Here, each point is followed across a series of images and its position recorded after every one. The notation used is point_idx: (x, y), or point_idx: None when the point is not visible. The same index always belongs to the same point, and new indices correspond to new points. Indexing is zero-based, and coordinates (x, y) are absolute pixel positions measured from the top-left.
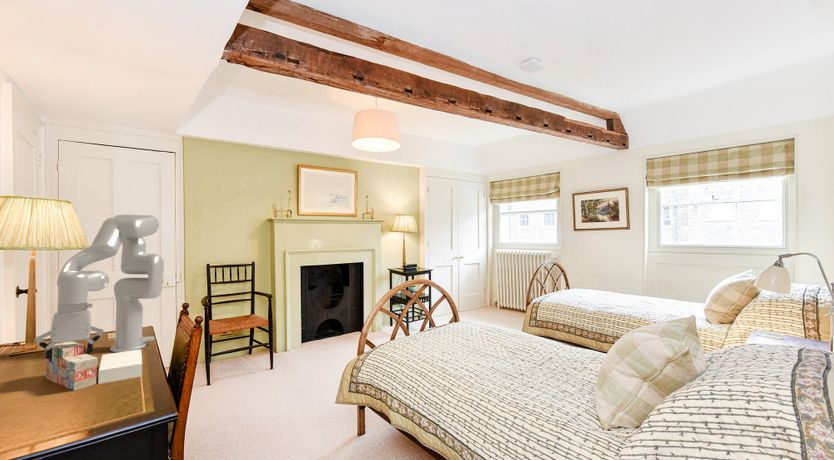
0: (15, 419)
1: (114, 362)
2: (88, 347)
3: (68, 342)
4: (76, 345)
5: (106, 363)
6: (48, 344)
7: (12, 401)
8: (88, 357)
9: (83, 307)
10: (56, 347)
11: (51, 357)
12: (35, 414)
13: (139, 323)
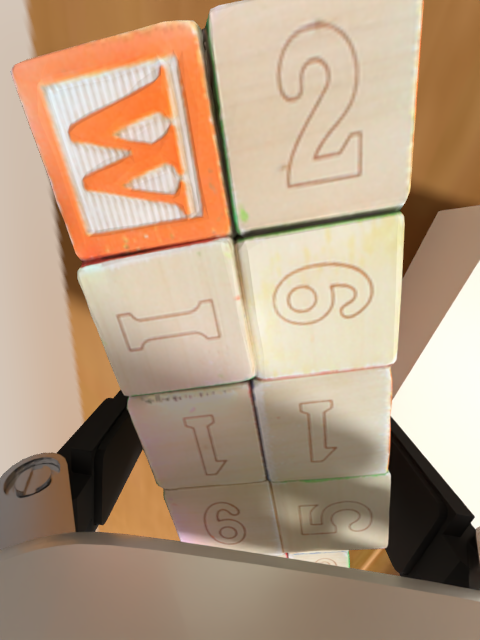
0: (110, 527)
1: (435, 442)
2: (387, 547)
3: (325, 248)
4: (325, 512)
5: (404, 430)
6: (3, 536)
7: (92, 407)
8: (321, 553)
9: None
10: (144, 438)
11: (136, 454)
12: (145, 531)
13: None
